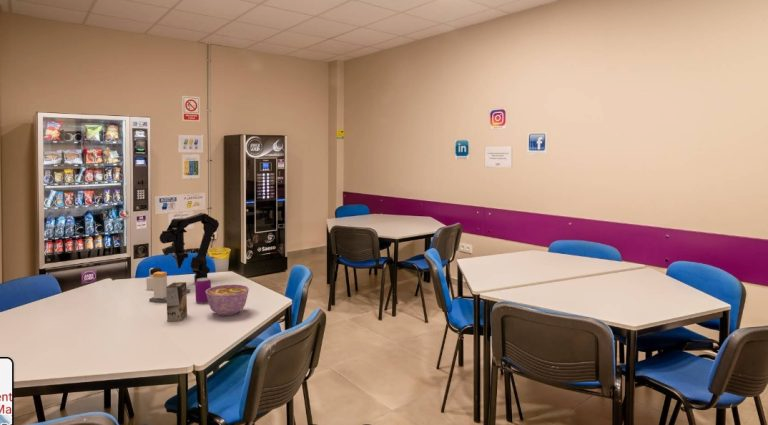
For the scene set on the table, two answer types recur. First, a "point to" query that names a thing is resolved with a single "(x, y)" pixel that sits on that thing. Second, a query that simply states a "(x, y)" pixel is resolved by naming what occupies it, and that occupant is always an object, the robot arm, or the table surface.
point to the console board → (162, 299)
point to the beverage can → (202, 289)
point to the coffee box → (176, 301)
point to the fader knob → (160, 284)
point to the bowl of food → (227, 298)
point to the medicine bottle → (151, 278)
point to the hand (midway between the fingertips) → (179, 268)
